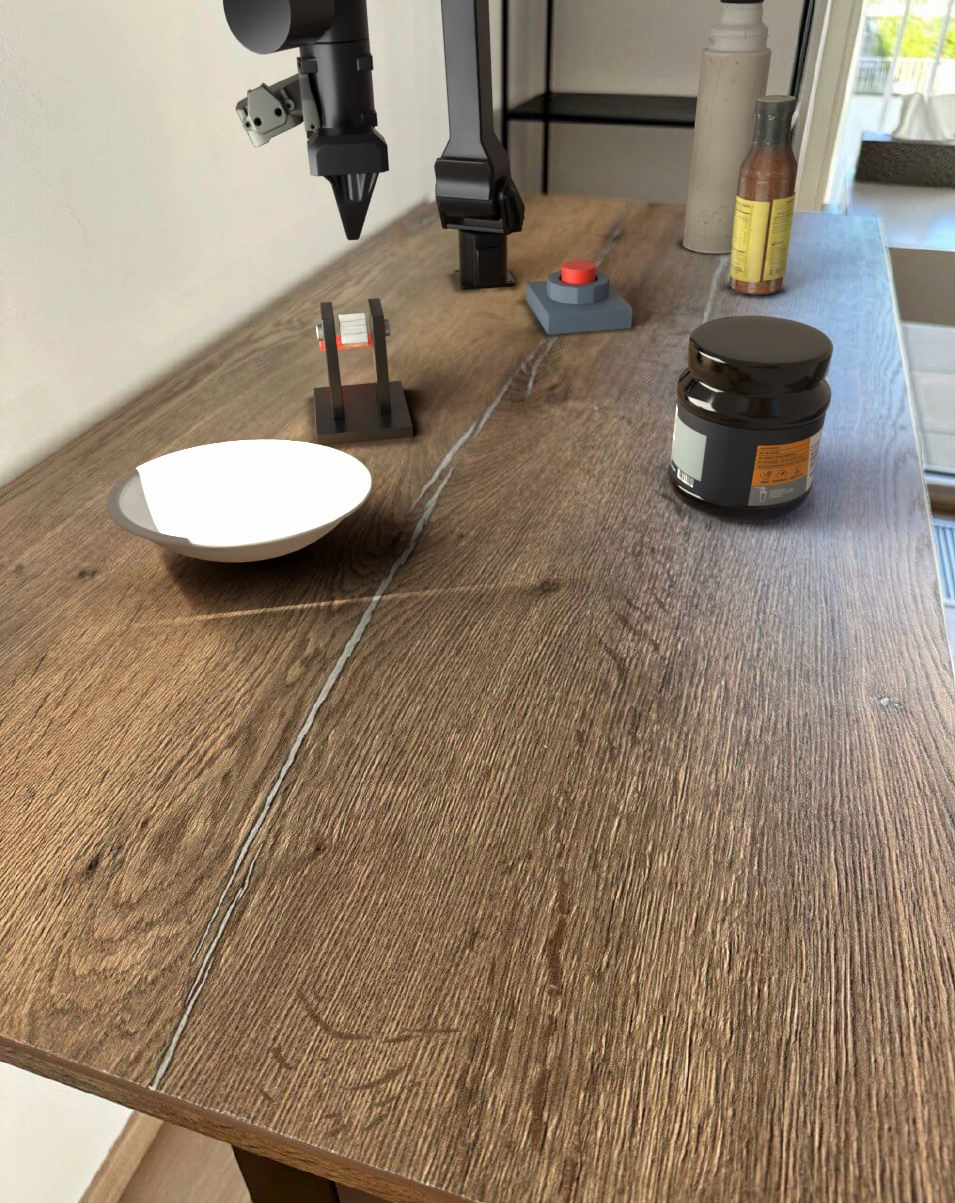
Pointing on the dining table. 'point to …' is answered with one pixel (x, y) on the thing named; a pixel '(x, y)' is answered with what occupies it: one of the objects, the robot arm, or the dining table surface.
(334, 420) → the bracket
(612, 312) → the button box
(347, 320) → the lever
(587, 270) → the button
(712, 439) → the supplement container
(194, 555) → the dish
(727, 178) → the thermos bottle
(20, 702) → the dining table surface
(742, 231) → the sauce bottle
